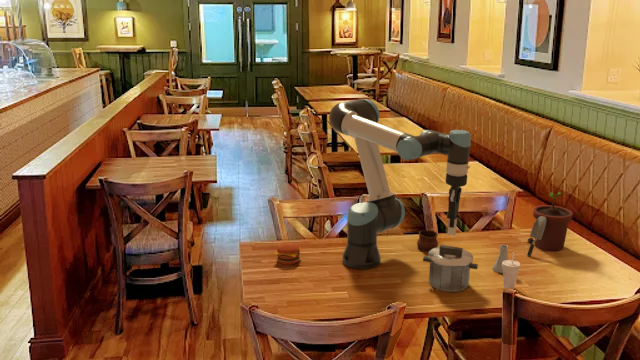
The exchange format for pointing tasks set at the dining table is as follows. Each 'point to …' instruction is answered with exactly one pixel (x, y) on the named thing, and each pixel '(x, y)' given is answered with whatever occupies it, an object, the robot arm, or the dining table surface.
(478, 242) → the dining table surface
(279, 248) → the hamburger
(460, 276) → the pot
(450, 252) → the lid
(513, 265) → the smoothie
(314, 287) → the dining table surface
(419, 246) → the ceramic pot
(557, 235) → the potted plant
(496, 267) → the flask
